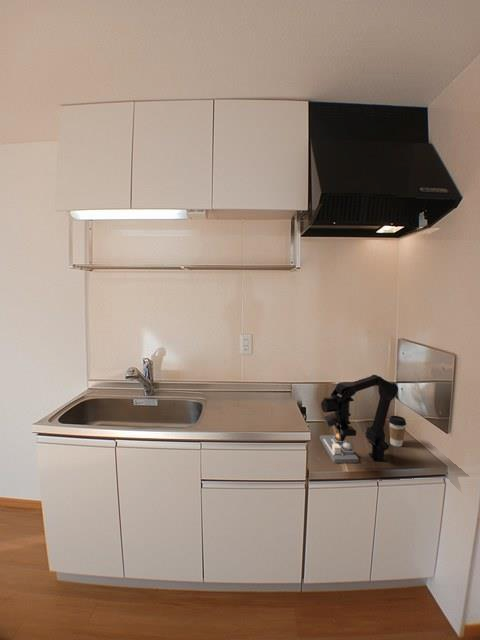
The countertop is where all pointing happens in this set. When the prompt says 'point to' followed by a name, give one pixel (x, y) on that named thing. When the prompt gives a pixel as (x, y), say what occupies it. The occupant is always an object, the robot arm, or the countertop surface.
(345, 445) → the grey button
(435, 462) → the countertop surface
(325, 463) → the countertop surface
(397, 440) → the coffee cup
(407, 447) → the countertop surface
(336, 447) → the slider knob
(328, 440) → the control panel
